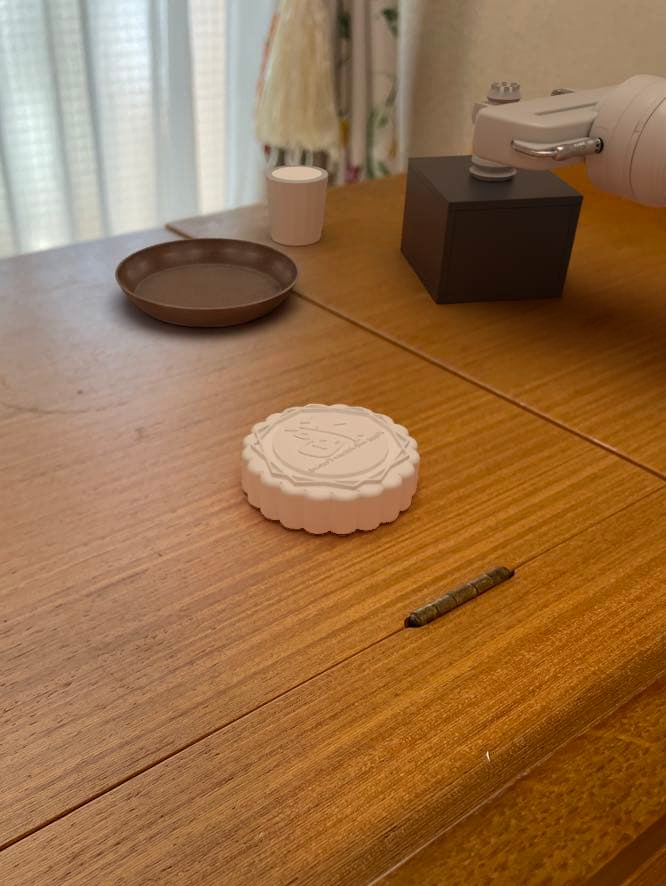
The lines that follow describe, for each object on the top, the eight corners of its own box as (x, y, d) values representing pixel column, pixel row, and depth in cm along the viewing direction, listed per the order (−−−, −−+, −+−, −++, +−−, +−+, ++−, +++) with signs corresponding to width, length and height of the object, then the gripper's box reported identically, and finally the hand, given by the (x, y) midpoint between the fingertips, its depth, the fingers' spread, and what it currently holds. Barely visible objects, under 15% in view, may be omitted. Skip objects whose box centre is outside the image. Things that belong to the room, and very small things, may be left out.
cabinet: (400, 250, 95) (408, 157, 89) (511, 244, 96) (527, 152, 90) (436, 304, 84) (448, 202, 78) (562, 296, 85) (584, 195, 79)
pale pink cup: (293, 252, 95) (293, 186, 91) (253, 235, 99) (252, 171, 95) (338, 237, 98) (341, 173, 94) (298, 222, 103) (299, 160, 98)
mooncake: (326, 421, 67) (328, 379, 65) (451, 486, 60) (458, 442, 58) (206, 482, 61) (203, 438, 58) (330, 563, 54) (332, 516, 51)
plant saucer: (322, 277, 89) (323, 248, 87) (260, 350, 76) (259, 318, 74) (167, 256, 94) (165, 228, 92) (84, 321, 82) (80, 290, 80)
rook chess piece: (513, 184, 82) (528, 90, 77) (465, 180, 83) (477, 87, 78) (518, 171, 85) (533, 80, 80) (471, 167, 86) (484, 77, 81)
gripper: (538, 201, 67) (424, 159, 77) (710, 161, 75) (588, 127, 85) (555, 113, 63) (432, 79, 73) (734, 80, 72) (603, 54, 81)
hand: (517, 105), depth 79 cm, fingers open, 8 cm apart
